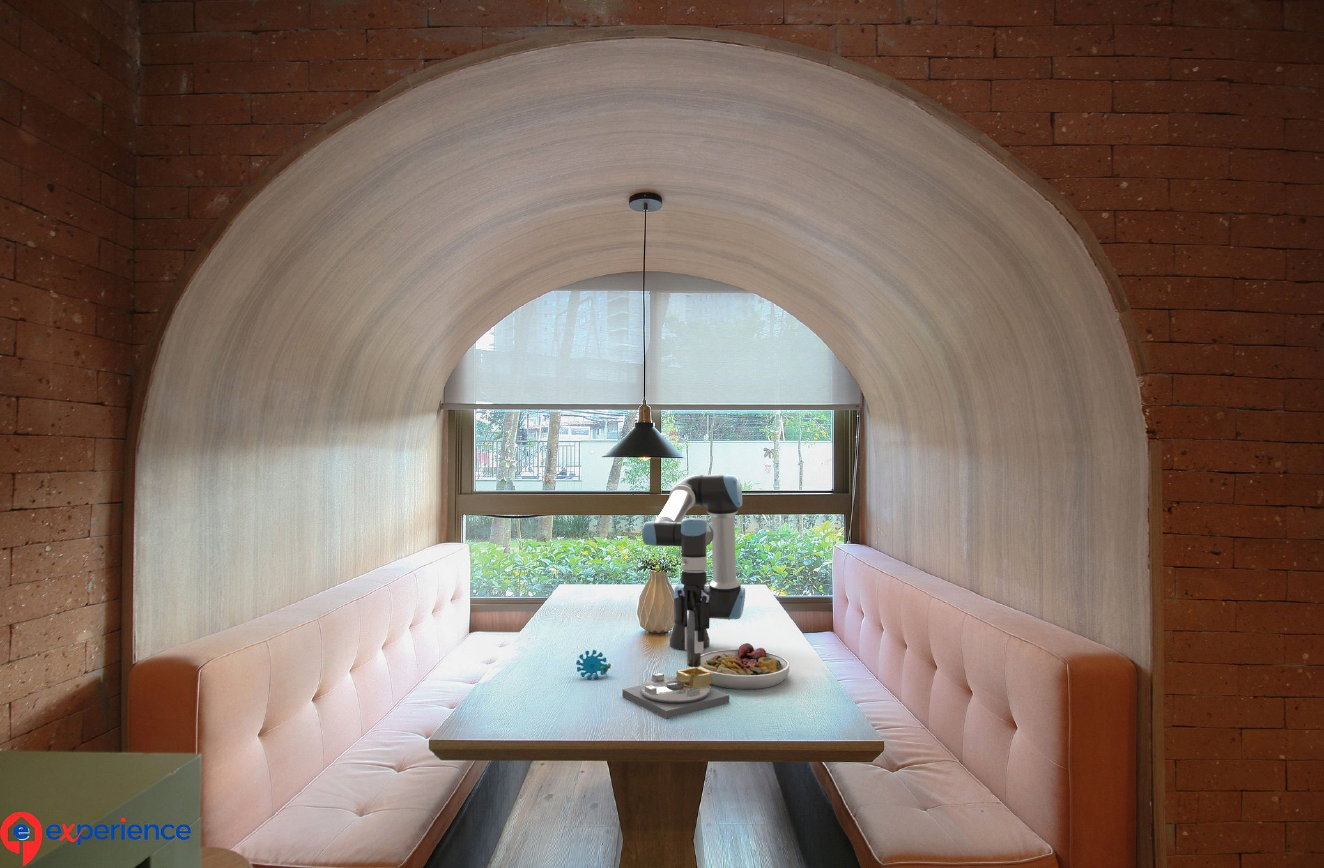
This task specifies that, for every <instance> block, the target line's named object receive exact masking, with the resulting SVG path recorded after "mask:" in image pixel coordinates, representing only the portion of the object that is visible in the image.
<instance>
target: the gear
mask: <svg viewBox="0 0 1324 868" xmlns="http://www.w3.org/2000/svg"><path fill="white" fill-rule="evenodd" d="M603 654H604V653H603V652H602V651H600V652H599V653H598V654H597V650H596V649H592V653H591V655H590V650H585V652H584V654H579V657H578V658H579V659H577V660H576V662H575V665H577V667H576V671H577V673H578V672H580V677H582V678H584V677H585V676H586V675H587V674H588V675H587V676H586V679H587V680H589V681H591V679H592V675H594V677H593V678H594V679H595V680H597V679H599V674H598V671H599V672H600V675H601V676H603V675H607V672H608V671H609V669H611V667H612V665H611V663H607V657H604V656H603ZM584 655H585V656H586V657H585V658H584ZM602 657H603V658H602ZM580 660H581V661H582V662H581V661H580ZM602 662H603V663H602ZM580 666H581V667H580Z"/></svg>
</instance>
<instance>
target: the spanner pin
mask: <svg viewBox="0 0 1324 868" xmlns="http://www.w3.org/2000/svg"><path fill="white" fill-rule="evenodd" d="M695 629H696V621H695V613H694V609H689V610H687V650H686V666H687V667H688V668H692V667H699V666H701V655H702V654H701V653H702V652H701V653H695Z"/></svg>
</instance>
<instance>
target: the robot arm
mask: <svg viewBox="0 0 1324 868" xmlns="http://www.w3.org/2000/svg"><path fill="white" fill-rule="evenodd" d="M741 485H742V484H741V482H740V479H739V478H738V476H737V475H735V474H722V473H721V474H719V473H718V474H693V475H690V476H688V477H685V478H683V479H682V480H681V481H678V482H677V483H676V484H675V485H674V486H673V487H672V489H671V490H670V492H669V496H668V497H669V498H668V500H667V502H666V504H665V505H664V506H663V509H662V510H661V512H660V513H659V514H658V516H657V518H656V519H655V521H652V520H651V521H646V522H644V524H643V526H642V528H641V530H642V531H641V535H642V537H641V538H642V539H641V540H642V542H643V543H644V545H646V546H651V547H680V548H681V552H680V553H681V561H680V562H681V563H680V564H681V565H680V566H681V570H682V571H681V572H680V574H681V575H680V576H681V577H680V578H681V579H680V580H681V581H680V583H679V584H677V585H676V586H675V587H674V592H673V627H672V630H671V634H670V637H669V647H671V648H673V649H677V650H683V651H687V610H689V609H694V613H695V621H696V629H695V653H704V650H705V649H708V648H709V647H710V645H711V644H710V642H711V641H710V640H711V639H710V637H709V633H708V629H710V622H711V621H710V620H711V619H713V620H714V619H716V620H717V619H718V620H728V621H730V620H739V619H741V617H742V615H743V611H744V607H745V599H746V588H744V587H743V586H742V583H741V581H740V580H739V579H738V578H737V560H736V559H737V557H736V531H735V530H736V527H735V526H736V525H735V516H736V514H737V513H738V512H739V508H741V507H742V506H743V491H742V486H741ZM693 507H706V513H707V514H708V515H709V516H710V523H711V524H710V523H708V522H707V520H706V519H705V518H702V517H701V518H700V517H688V518H686V517H685V516H686V514H687V512H688V511H689V510H690V509H691V508H693ZM684 517H685V518H684ZM710 544H711V550H712V551H711V553H712V555H711V556H712V577H713V578H712V579H711V580H710V581H709V586H708V585H707V581H708V580H707V575H708V574H707V571H706V570H707V569H708V568H707V567H708V566H707V564H708V563H707V557H708V556H707V546H709V545H710Z"/></svg>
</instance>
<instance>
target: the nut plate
mask: <svg viewBox="0 0 1324 868" xmlns="http://www.w3.org/2000/svg"><path fill="white" fill-rule="evenodd" d="M641 685H642V684H639V685H637V686H632V687H626V688H622V695H621V696H622V697H623V698H625V699H627V700H629V701H631V702H633V703H634V704H637V705H639V706H641V707H643V708H644V709H646V710H648V711H651V712H652V713H654V714H656V715H658V716H660V717H662V718H664V719H666V720H668V719H671V718H675V717H679V716H683V715H686V714H690V713H693V712H697V711H701V710H704V709H705V710H706V709H710V708H713V707H716V706H720V705H724V704H728V703H730V694H727V693H725V692H723V691H720V690H718V689H716V688H714V687H710V694H709V695H708V696H707V697H705V698H703V699H701V700H698V701H693V702H686V703H665V702H658V701H654V700H650V699H648V698H646V697H644V696H643V695H642V694H641Z"/></svg>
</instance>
